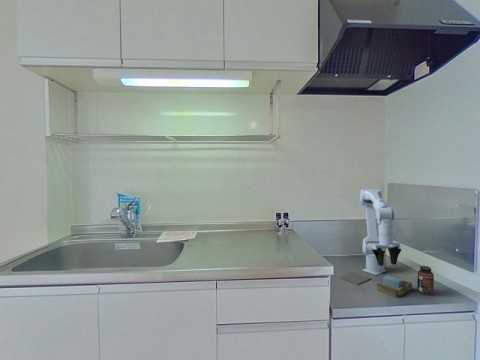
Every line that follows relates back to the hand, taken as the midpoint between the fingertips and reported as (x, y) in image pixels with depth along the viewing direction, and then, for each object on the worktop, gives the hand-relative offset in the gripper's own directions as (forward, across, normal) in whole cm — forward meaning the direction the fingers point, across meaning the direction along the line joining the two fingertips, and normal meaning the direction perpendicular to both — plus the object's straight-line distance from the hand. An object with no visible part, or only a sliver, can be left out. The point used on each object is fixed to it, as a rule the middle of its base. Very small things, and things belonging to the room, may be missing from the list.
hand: (387, 264), depth 120 cm
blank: (+12, +4, +2) cm, 13 cm away
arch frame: (+12, +4, +2) cm, 12 cm away
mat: (+10, -2, +17) cm, 20 cm away
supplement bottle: (+12, +15, -6) cm, 20 cm away
